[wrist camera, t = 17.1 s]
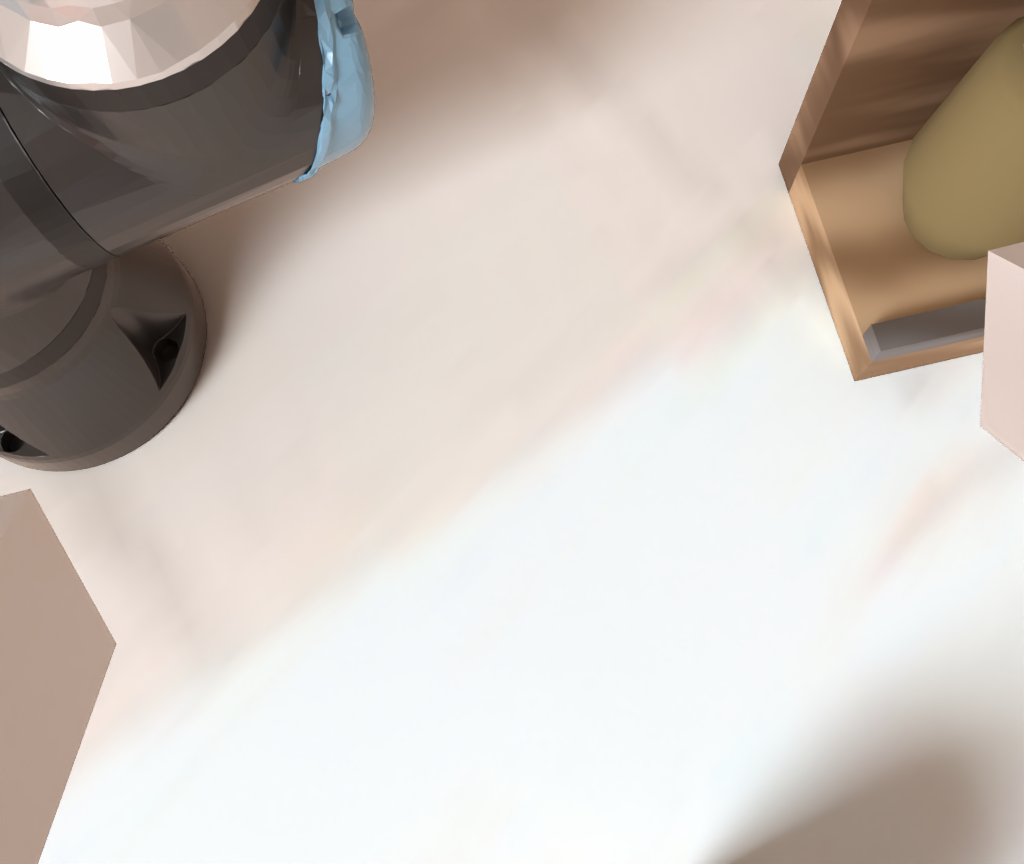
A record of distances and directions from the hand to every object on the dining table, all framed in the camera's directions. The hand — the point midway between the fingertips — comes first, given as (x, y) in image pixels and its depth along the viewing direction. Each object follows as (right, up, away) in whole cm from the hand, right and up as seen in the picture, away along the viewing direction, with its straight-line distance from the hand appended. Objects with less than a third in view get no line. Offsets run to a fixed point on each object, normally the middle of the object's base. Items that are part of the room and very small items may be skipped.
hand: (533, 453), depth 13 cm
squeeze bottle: (+24, +12, +38) cm, 46 cm away
